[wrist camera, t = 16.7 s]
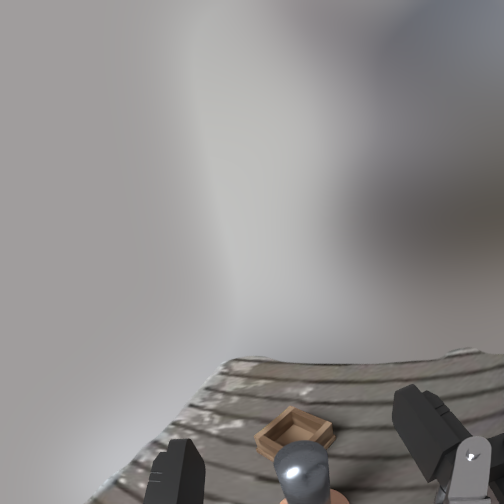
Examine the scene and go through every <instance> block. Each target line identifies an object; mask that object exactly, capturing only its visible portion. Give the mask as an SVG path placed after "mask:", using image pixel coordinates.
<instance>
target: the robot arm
mask: <svg viewBox="0 0 504 504" xmlns="http://www.w3.org/2000/svg"><path fill="white" fill-rule="evenodd" d="M392 421H393V425H394V427H395V429H396V431H397V432H398V434H399V436H400V437H401V439H402V440H403V442H404V444H405V445H406V447H407V449H408V450H409V452H410V454H411V455H412V457H413V459H414V460H415V462H416V464H417V465H418V467H419V469H420V470H421V472H422V474H423V476H424V477H425V479H426V481H427V482H428V483H429V482H431V481H432V480H434V479H437V480H438V482H439V485H438V488H437V492H436V496H435V499H434V502H433V504H491V498H490V497H487V489H488V484H489V486H490V488H491V489H492V491H493V493H494V494H495V496H496V498H497V500H498V501H499V503H500V504H504V433H502V434H500V435H497V436H495V437H492V438H489V439H485V438H484V437H480V436H472V435H471V434H470V433H469V432H468V431H467V430H466V428H465V427H464V426H463V425H462V424H461V422H460V421H459V420H458V419H457V418H456V416H455V415H454V414H453V413H452V412H450V409H449V408H448V407H447V406H446V405H444V403H443V401H442V400H441V399H440V398H439V397H438V396H437V395H435V394H433V393H431V392H429V391H425V392H423V393H421V392H420V390H419V389H418V388H417V387H416V386H415V385H414V384H411V385H409V386H406V387H404V388H402V389H399V390H397V391H395V394H394V403H393V411H392ZM205 472H206V471H205V464H204V461H203V459H202V457H201V455H200V454H199V452H198V450H197V449H196V447H195V445H194V444H193V442H192V440H191V439H172V440H170V442H169V445H168V449H167V452H160V453H159V455H158V456H157V457H156V459H155V460H154V461H153V465H152V469H151V474H150V477H149V482H148V485H147V489H146V493H145V498H144V502H143V504H203V499H204V485H205Z"/></svg>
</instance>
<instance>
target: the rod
mask: <svg viewBox="0 0 504 504" xmlns="http://www.w3.org/2000/svg"><path fill="white" fill-rule="evenodd" d="M274 468H275V471H276V474H277V476H278V479H279V482H280V484H281V487H282V490H283V492H284V495H285V498H286V500H287V503H288V504H331V495H330V479H329V465H328V454H327V451H326V449H325V448H324V447H323V446H322V445H321V444H319V443H317V442H314V441H309V440H301V441H295V442H292V443H289V444H287V445H286V446H284V447H283V448H281V449H280V450H279V451H278V453H277V454H276V456H275V458H274Z"/></svg>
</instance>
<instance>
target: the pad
mask: <svg viewBox="0 0 504 504" xmlns="http://www.w3.org/2000/svg"><path fill="white" fill-rule="evenodd" d="M330 495H331V504H349V502H348V500H347V499H346V497H345V496H343V495H342V494H341V493H339V492H338V491H336V490H333V489H330ZM280 504H288V503H287V500H286V498H285V499H284V500H283V501H282V502H281V503H280Z"/></svg>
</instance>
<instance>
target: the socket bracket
mask: <svg viewBox="0 0 504 504" xmlns="http://www.w3.org/2000/svg"><path fill="white" fill-rule="evenodd" d="M254 438H255V441H256V443H257V446H258V447H257V448H256V450H257V452H258V453H260V454H261V455H263V456H264V457H266V458H268V459H269V460H271V461H272V462H274V458H275V456H276V454H277V453H278V451H279V450H280V449H281V448H283V447H284V446H286V445H287V444H289V443H292V442H295V441H301V440H309V441H314V442H317V443H319V444H321V445H322V446H323V447H324V448H325V449H327V448H328V447H329V446H330V445H331V444H332V443H333V442H334V441H335V439H336V435H333V428H332V423H331V422H328V421H326V420H323V419H321V418H318V417H316V416H313V415H311V414H308V413H306V412H304V411H301V410H299V409H297V408H295V407H292V406H289V407H288V408H287V409H286V410H285V411H284V412H282V413H281V414H280V415H279V416H278V417H277V418H275V419H274V420H273V421H272V422H271V423H269V424H268V425H267V426H266V427H265V428H263V429H262V430H261V431H260V432H258V433H257V434H256V435H255V436H254Z"/></svg>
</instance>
